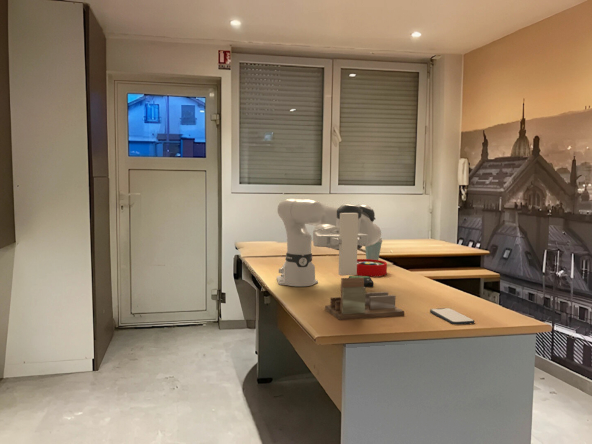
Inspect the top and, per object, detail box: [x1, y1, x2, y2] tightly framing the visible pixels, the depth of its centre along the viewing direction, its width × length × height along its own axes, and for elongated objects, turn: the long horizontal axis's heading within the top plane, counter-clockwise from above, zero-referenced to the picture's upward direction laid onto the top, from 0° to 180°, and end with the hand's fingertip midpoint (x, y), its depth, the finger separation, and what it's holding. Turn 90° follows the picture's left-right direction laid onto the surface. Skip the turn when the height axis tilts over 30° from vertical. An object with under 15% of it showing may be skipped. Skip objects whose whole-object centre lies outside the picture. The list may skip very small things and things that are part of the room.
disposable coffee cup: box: [364, 237, 383, 260], centre depth 279 cm, size 11×11×15 cm
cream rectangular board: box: [338, 213, 358, 277], centre depth 167 cm, size 2×6×22 cm, turn 107°
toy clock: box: [356, 258, 388, 277], centre depth 247 cm, size 20×6×20 cm
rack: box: [324, 291, 405, 321], centre depth 170 cm, size 14×25×6 cm, turn 107°
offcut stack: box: [340, 277, 367, 314], centre depth 164 cm, size 3×8×12 cm, turn 107°
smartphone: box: [429, 307, 475, 325], centre depth 166 cm, size 9×2×16 cm
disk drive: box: [348, 275, 375, 288], centre depth 220 cm, size 10×3×15 cm
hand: (349, 241), depth 166 cm, fingers closed on cream rectangular board, 6 cm apart
